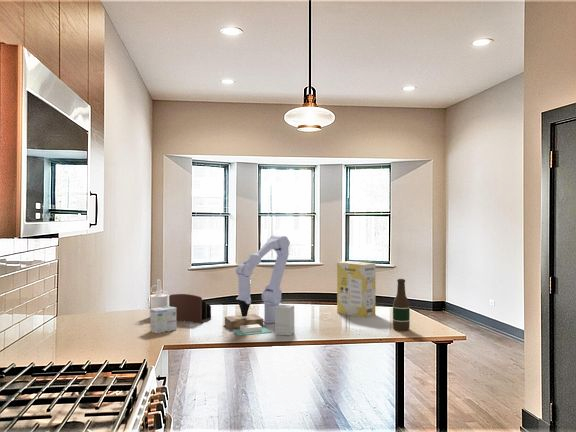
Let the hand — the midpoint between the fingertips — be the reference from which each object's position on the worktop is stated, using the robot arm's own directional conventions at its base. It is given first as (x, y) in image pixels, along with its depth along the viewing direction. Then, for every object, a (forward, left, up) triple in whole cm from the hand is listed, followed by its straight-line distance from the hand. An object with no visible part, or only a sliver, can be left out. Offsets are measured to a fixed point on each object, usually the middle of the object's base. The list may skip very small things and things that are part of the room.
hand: (244, 316), depth 247 cm
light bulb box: (+38, -6, -5) cm, 39 cm away
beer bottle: (-67, +35, -5) cm, 76 cm away
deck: (0, -1, -5) cm, 5 cm away
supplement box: (-13, +21, -5) cm, 25 cm away
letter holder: (+22, -26, -5) cm, 34 cm away
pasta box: (-66, -6, -5) cm, 66 cm away
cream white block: (0, +11, -3) cm, 11 cm away
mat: (0, +12, -5) cm, 13 cm away
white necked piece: (+35, -39, -5) cm, 53 cm away
